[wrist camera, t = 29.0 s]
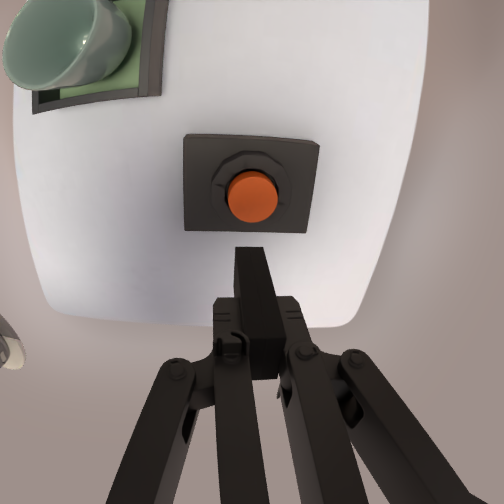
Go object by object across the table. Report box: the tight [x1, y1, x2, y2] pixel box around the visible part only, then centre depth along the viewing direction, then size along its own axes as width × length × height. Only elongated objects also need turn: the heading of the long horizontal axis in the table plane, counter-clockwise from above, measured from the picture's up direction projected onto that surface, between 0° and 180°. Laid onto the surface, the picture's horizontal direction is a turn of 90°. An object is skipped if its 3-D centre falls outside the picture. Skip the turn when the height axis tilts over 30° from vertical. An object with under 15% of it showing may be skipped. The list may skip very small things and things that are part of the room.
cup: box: [3, 0, 133, 91], centre depth 14 cm, size 8×8×10 cm
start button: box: [228, 171, 278, 223], centre depth 24 cm, size 4×4×2 cm
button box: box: [183, 134, 320, 233], centre depth 26 cm, size 12×9×4 cm
